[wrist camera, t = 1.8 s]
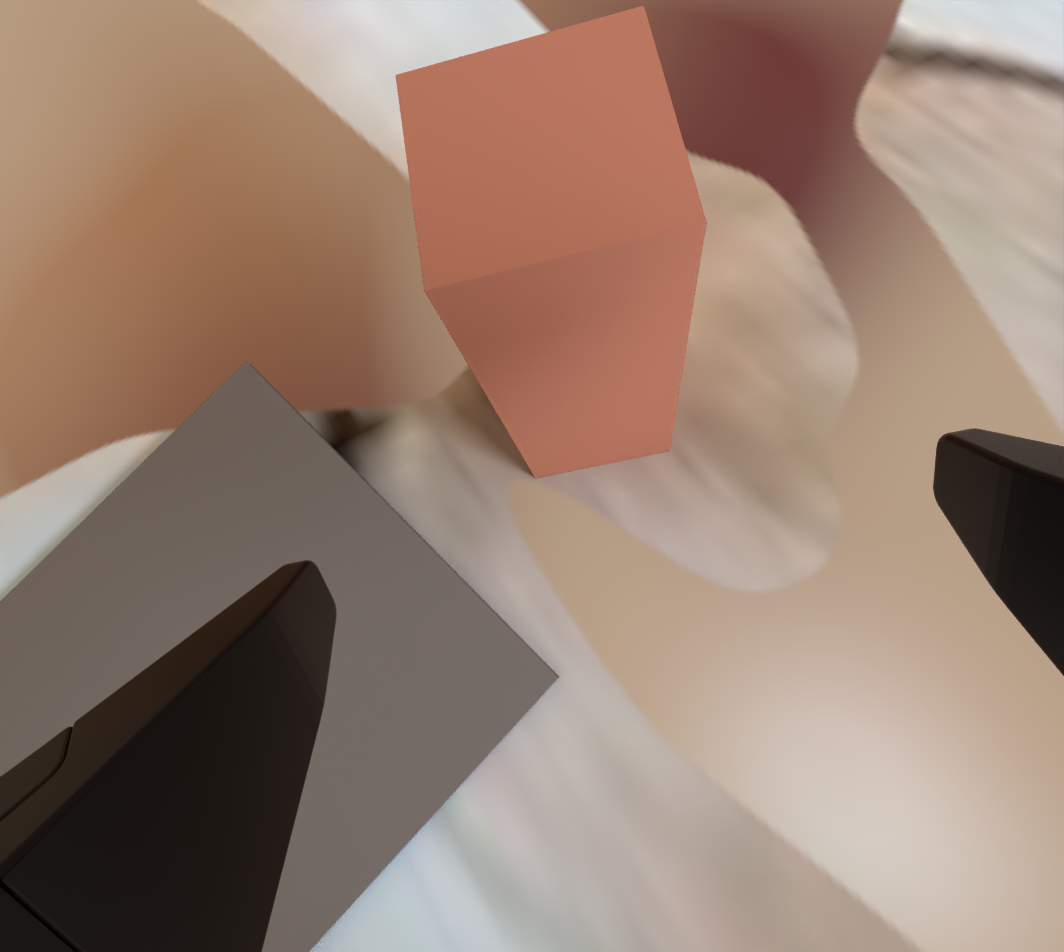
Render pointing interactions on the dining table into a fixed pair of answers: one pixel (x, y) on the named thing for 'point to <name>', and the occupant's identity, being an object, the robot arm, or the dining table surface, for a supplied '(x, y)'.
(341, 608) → the mat
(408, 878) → the dining table surface
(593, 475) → the dining table surface
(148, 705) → the robot arm
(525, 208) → the card box
